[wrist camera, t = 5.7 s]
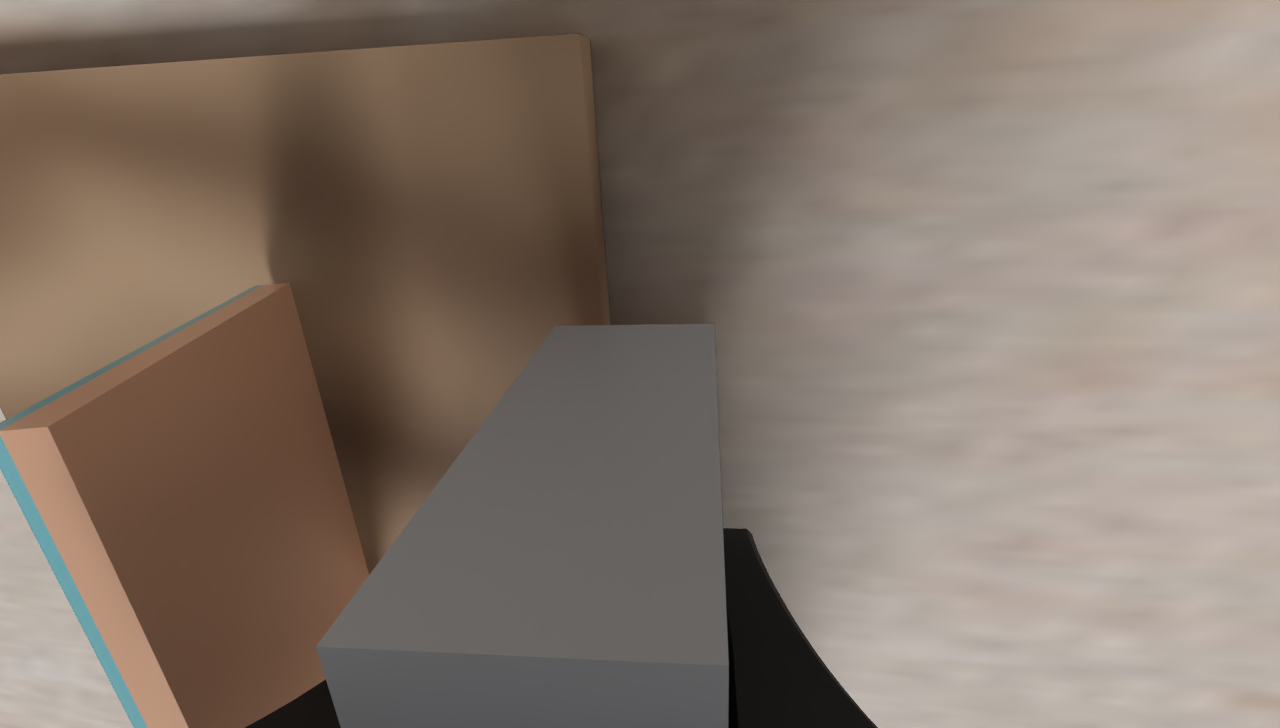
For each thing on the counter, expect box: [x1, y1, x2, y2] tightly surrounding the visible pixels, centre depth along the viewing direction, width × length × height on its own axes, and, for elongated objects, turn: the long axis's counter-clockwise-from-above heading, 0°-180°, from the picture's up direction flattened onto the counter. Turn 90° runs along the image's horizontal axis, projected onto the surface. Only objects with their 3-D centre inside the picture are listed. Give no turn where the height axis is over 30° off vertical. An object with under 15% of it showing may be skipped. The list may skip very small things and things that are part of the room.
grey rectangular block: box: [316, 324, 729, 728], centre depth 11 cm, size 8×4×9 cm, turn 3°
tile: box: [0, 283, 369, 728], centre depth 13 cm, size 10×8×1 cm
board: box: [0, 33, 611, 575], centre depth 18 cm, size 20×18×1 cm
